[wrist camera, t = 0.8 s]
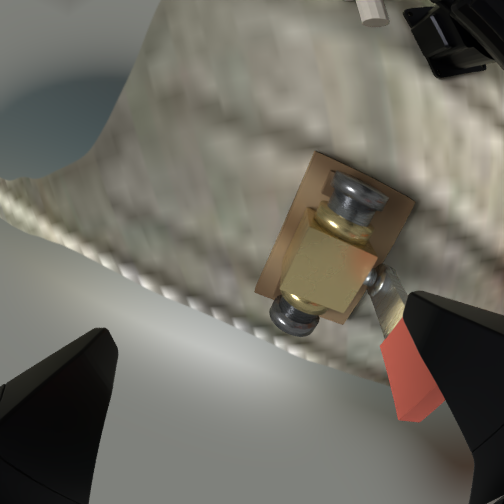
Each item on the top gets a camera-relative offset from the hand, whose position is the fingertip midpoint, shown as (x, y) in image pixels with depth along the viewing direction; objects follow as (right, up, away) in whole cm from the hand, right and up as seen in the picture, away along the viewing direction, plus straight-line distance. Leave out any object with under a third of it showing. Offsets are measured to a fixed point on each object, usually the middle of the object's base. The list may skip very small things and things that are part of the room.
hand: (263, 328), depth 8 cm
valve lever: (+10, 0, +14) cm, 17 cm away
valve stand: (+6, +3, +16) cm, 17 cm away
